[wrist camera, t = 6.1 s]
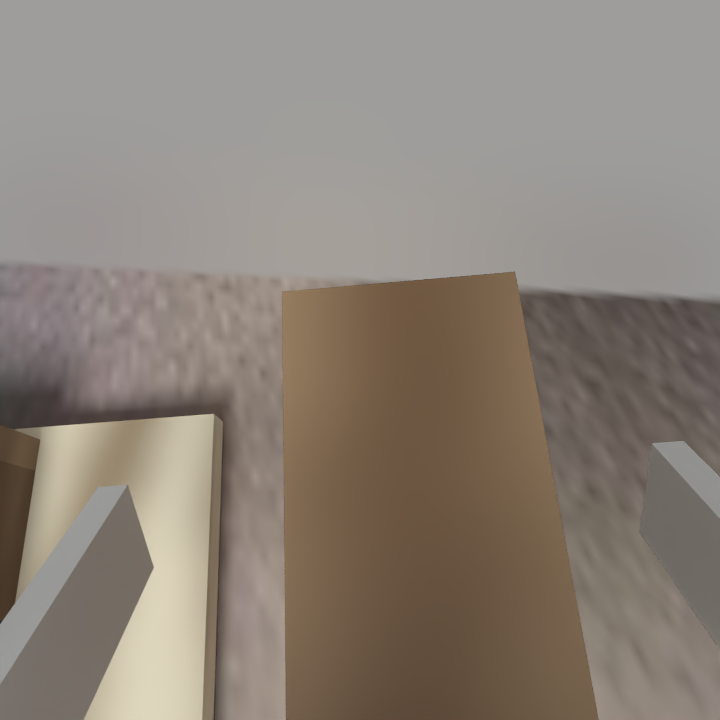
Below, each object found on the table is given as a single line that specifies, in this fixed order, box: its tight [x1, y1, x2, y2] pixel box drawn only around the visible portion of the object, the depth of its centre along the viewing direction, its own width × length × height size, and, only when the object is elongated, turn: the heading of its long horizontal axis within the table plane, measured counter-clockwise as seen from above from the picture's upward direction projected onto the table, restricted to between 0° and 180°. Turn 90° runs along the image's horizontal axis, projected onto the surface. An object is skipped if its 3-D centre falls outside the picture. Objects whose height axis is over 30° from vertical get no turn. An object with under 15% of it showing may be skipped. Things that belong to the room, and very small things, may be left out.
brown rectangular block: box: [282, 272, 598, 720], centre depth 14 cm, size 4×8×13 cm, turn 3°
